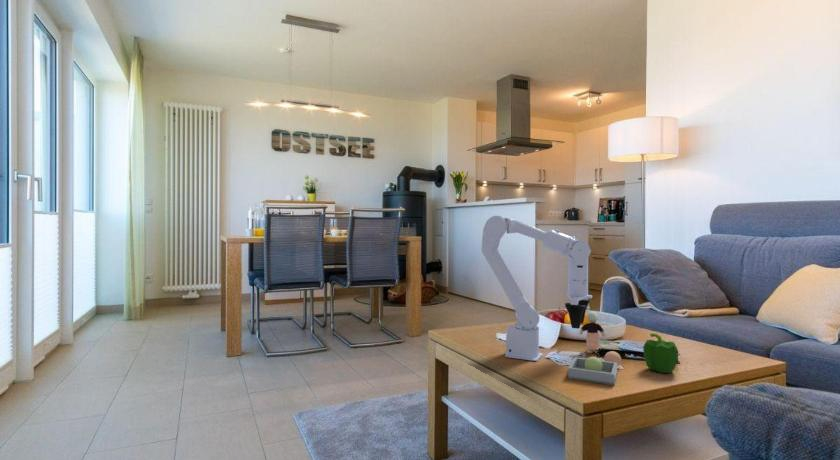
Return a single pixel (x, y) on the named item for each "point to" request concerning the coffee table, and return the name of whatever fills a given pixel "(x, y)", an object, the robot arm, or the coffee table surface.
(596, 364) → the olive ball
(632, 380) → the coffee table surface
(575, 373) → the dish
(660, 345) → the bell pepper
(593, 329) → the grandmother figurine
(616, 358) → the terracotta ball
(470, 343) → the coffee table surface
